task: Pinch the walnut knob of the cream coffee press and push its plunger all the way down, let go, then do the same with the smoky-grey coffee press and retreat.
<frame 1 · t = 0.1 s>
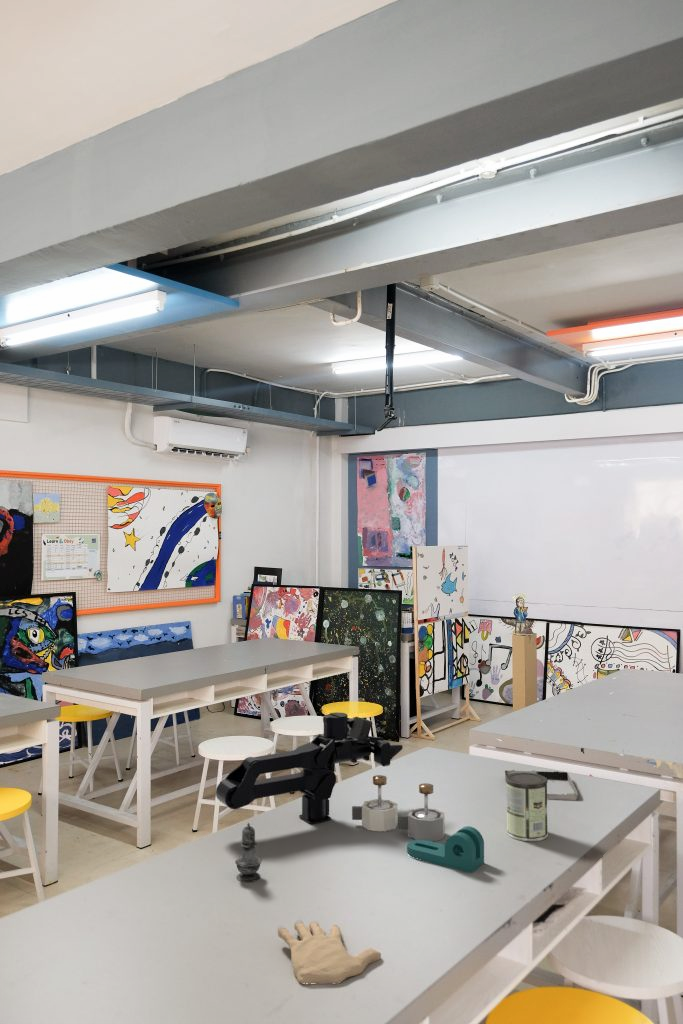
hand: (392, 743, 234), 17 cm above the table, tool horizontal, fingers open, 9 cm apart
bracket: (442, 860, 193), on the table
hand model: (328, 957, 150), on the table
grey press: (426, 834, 209), on the table
salt shaker: (248, 878, 183), on the table
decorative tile: (540, 790, 246), on the table
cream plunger: (379, 792, 216), point 9 cm above the table, slide at 0.0 cm
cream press: (379, 825, 216), on the table
grey plunger: (426, 801, 209), point 9 cm above the table, slide at 0.0 cm
coffee can: (526, 834, 209), on the table
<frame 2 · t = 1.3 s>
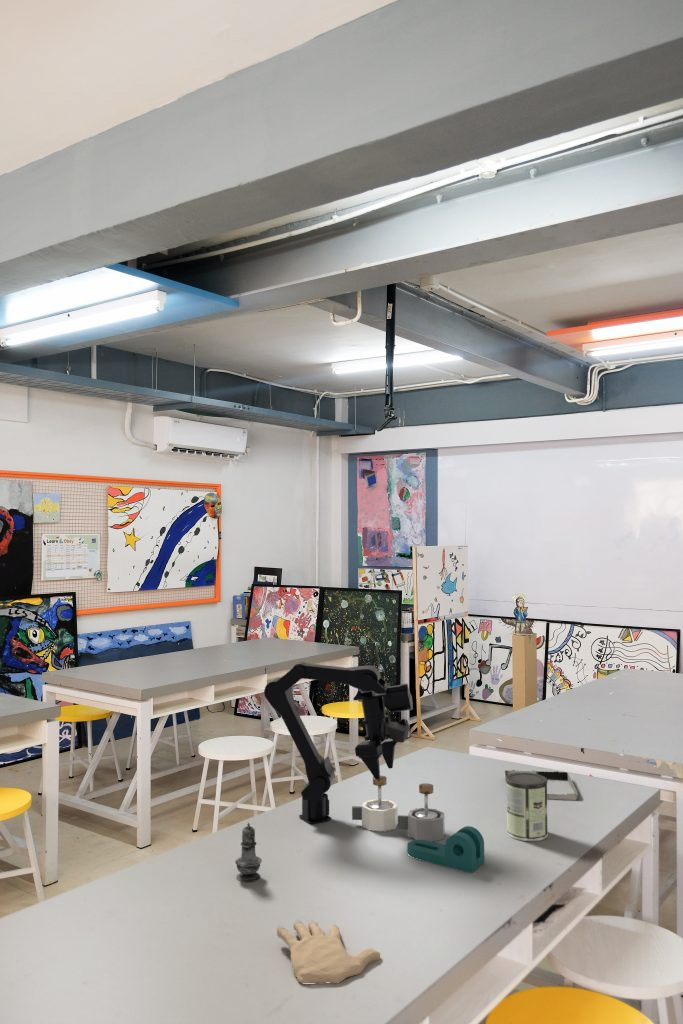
hand: (384, 773, 217), 13 cm above the table, tool pointing down, fingers open, 9 cm apart
nothing on the table moved.
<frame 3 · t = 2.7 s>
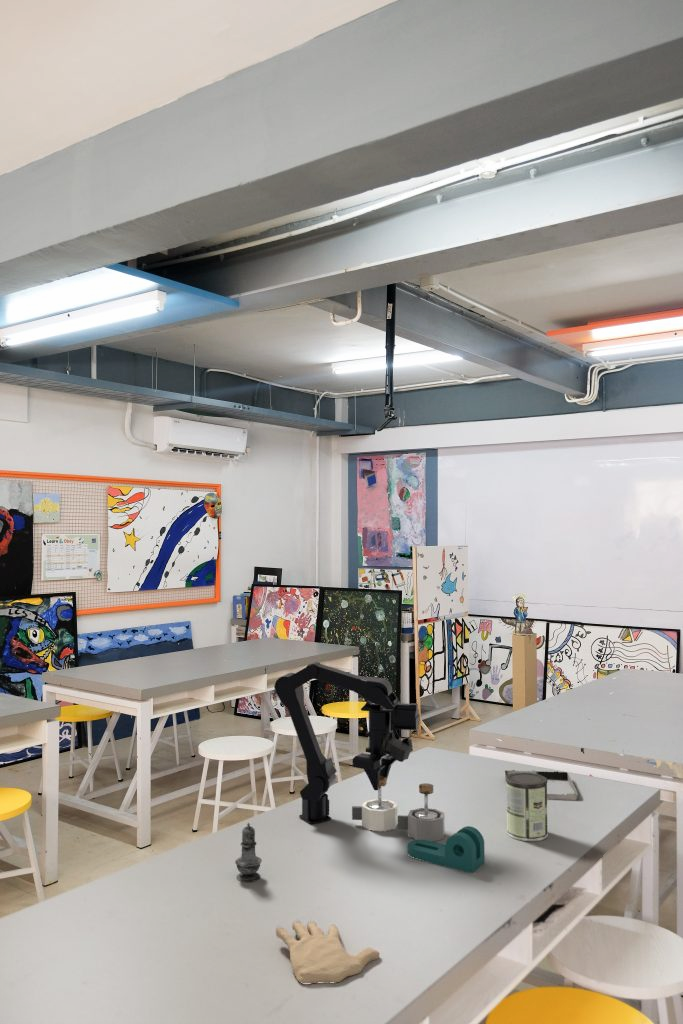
hand: (379, 788, 216), 10 cm above the table, tool pointing down, fingers closed on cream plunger, 4 cm apart
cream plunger: (379, 792, 216), point 8 cm above the table, slide at 0.1 cm, touching gripper
everything else where it was.
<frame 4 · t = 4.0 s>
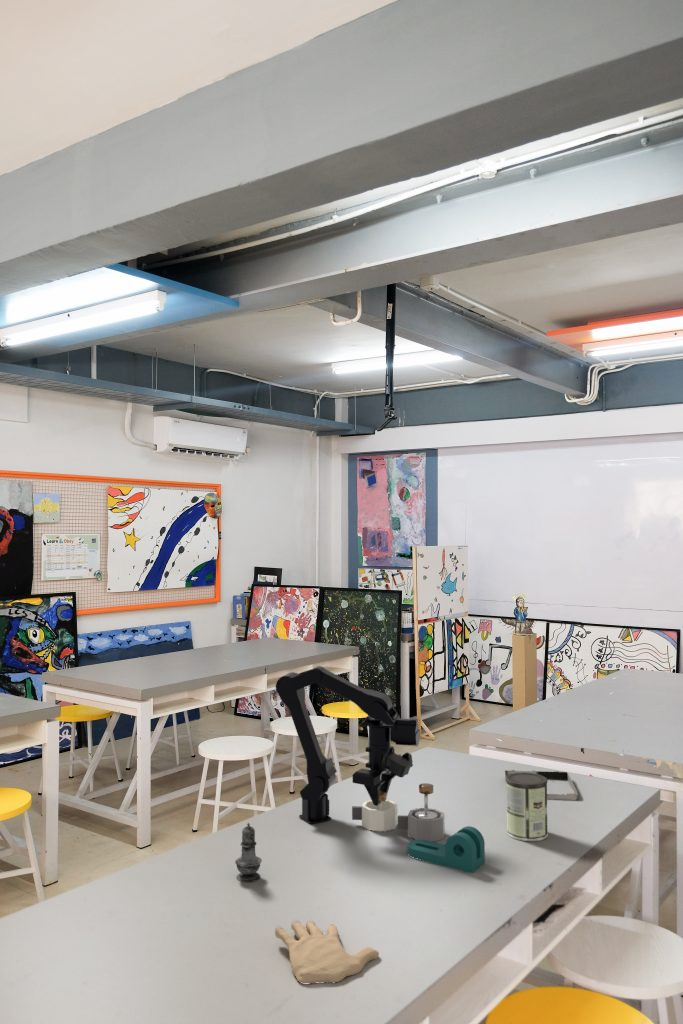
hand: (379, 803, 216), 6 cm above the table, tool pointing down, fingers closed on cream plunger, 4 cm apart
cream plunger: (379, 807, 216), point 4 cm above the table, slide at 4.0 cm, touching gripper
everything else where it was.
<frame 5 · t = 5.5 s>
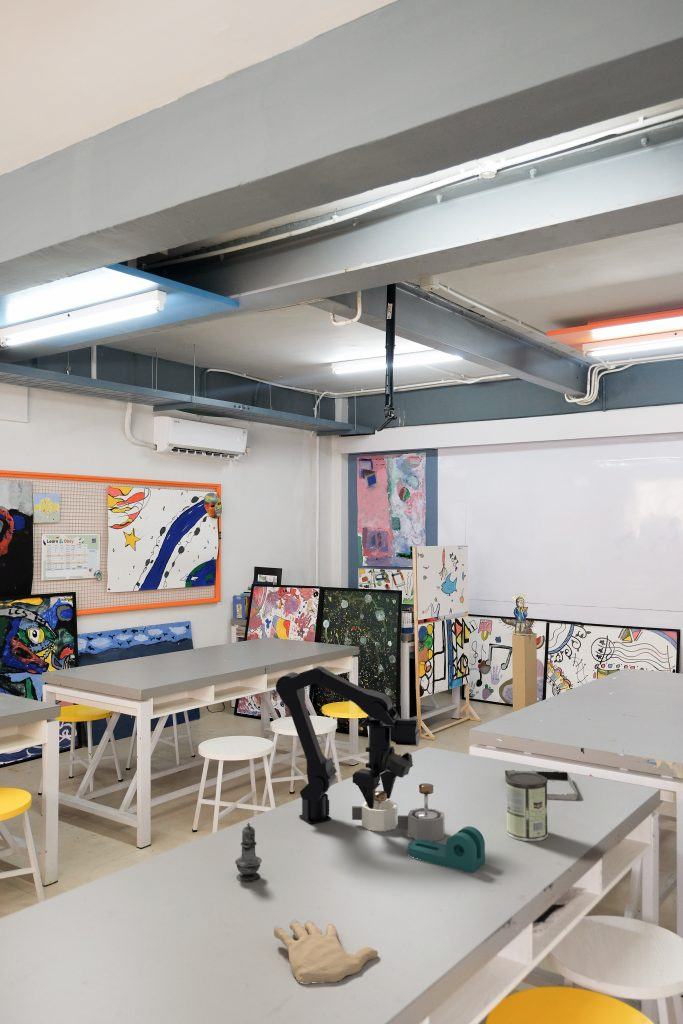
hand: (379, 803, 216), 6 cm above the table, tool pointing down, fingers open, 9 cm apart
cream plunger: (379, 807, 216), point 4 cm above the table, slide at 4.1 cm
everything else where it was.
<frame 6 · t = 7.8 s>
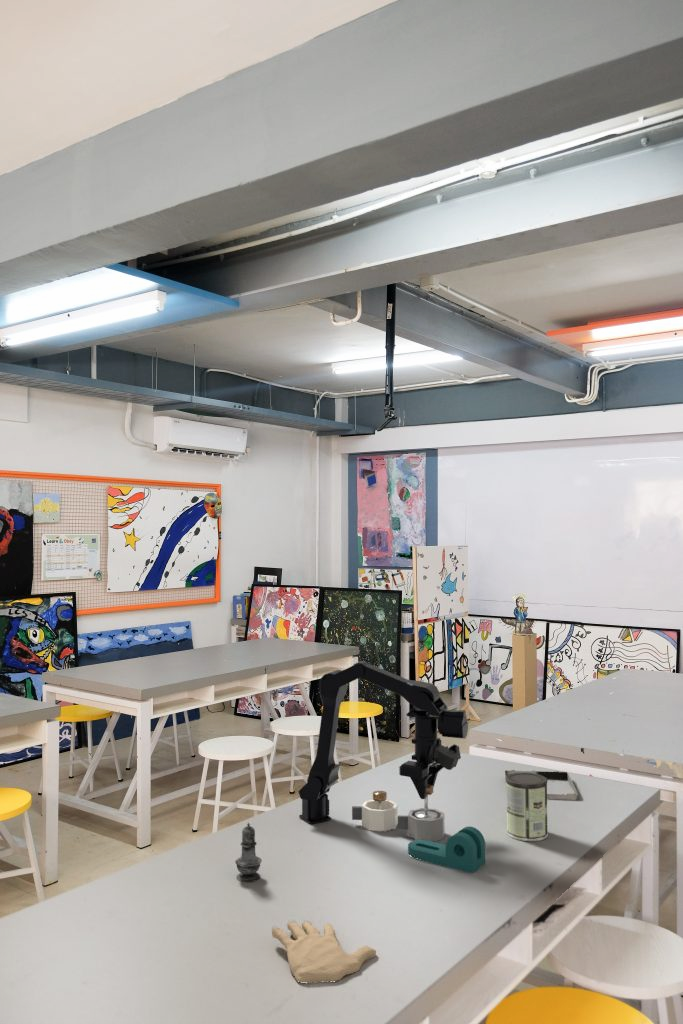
hand: (426, 796, 209), 10 cm above the table, tool pointing down, fingers closed on grey plunger, 4 cm apart
grey plunger: (426, 801, 209), point 9 cm above the table, slide at 0.0 cm, touching gripper
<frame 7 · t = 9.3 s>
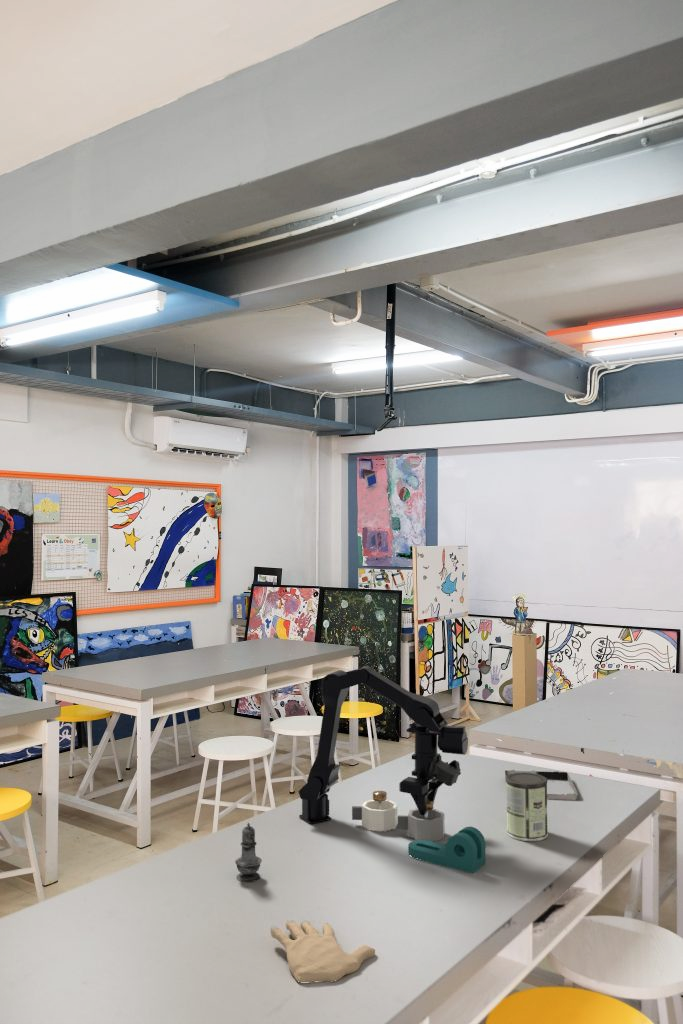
hand: (426, 812, 209), 6 cm above the table, tool pointing down, fingers closed on grey plunger, 4 cm apart
grey plunger: (426, 816, 209), point 5 cm above the table, slide at 4.0 cm, touching gripper
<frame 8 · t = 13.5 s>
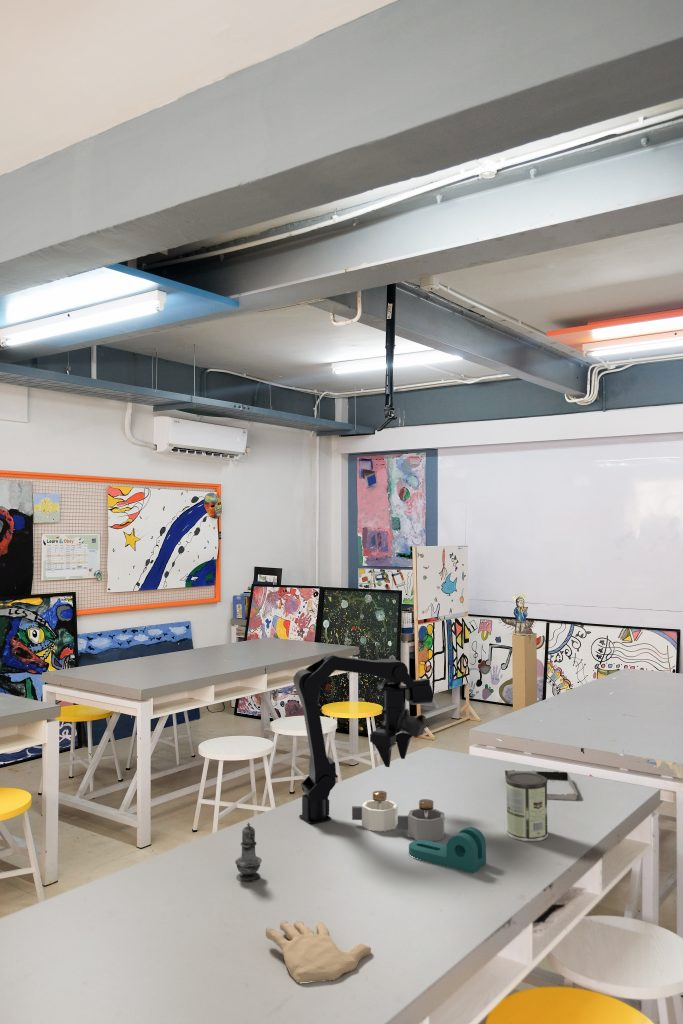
hand: (395, 762, 227), 13 cm above the table, tool pointing down, fingers open, 9 cm apart
grey plunger: (426, 816, 209), point 5 cm above the table, slide at 4.0 cm
at the end: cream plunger slide at 4.1 cm; grey plunger slide at 4.0 cm; the gripper is holding nothing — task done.
